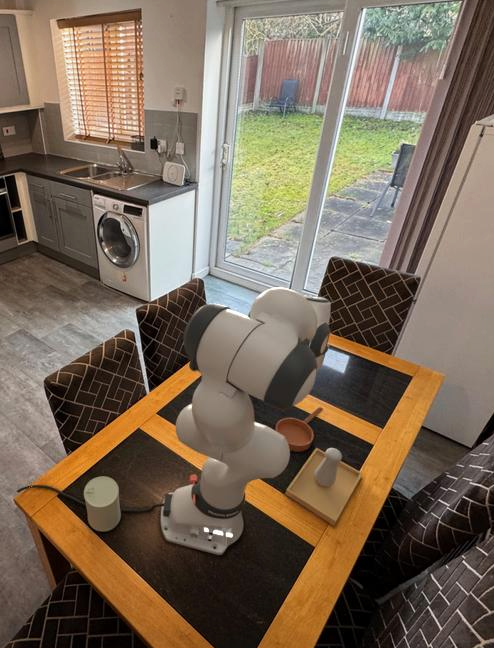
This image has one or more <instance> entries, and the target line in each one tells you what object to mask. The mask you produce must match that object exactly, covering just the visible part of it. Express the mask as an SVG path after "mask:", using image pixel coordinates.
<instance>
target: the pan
mask: <svg viewBox="0 0 494 648" xmlns="http://www.w3.org/2000/svg"><path fill="white" fill-rule="evenodd" d="M303 421H304V420H301V419H299V418H295V417H285V418H282V419H280V420H278V421H277V422H276V424H275V428H274V430H275V431H276V432H278V433H280V434H281V435H283V436H285V438H286V440H287V442H288V445H289V449H290V452H295V453H300V452H301V453H302V452H304V451H305V452H306V451H307V450H309V449H310V448H311V446H312V443H313V442H314V436H315V434H314V431H313V429H312V428H311V426H310V425H309V424H306V423H305V422H303Z"/></svg>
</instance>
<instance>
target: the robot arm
mask: <svg viewBox="0 0 494 648" xmlns="http://www.w3.org/2000/svg"><path fill="white" fill-rule="evenodd" d="M331 303H332V302H331V301H330V300H329V299H327V298H326V297H323V296H318V295H313V294H305V295H302V294H301V293H299V292H297V291H295V290H293V289H291V288H290V289H289V288H286V287H273V288H269V289H266V290H265V291H263V292H262V293H260V294H259V295H257V296H256V298H255V299H254V301H253V303H252V305H251V307H250V310H249V312H248V315H246V314H243V313H241V312H238V311H236V310H232V308H230V307H229V306H227V305H224V304H219V303H214V302H209V303H206V304H204V305H202V306H200V307H199V308H198V309H197V310H195V312H194V313H193V314H192V315H191V317H190V318H189V320H188V322H187V323H186V325H185V328H184V331H183V335H182V336H183V337H182V339H183V345H184V346H183V347H184V353H185V354H186V356H187V358H188V360H189V364H188V367H189V369H190V371H192V372H198V373H199V374H200V375H201V380H200V382H199V384H198V386H196V388H195V390H194V392H193V394H192V400H191V403H190V404H188V405H186V406H185V407H184V408H182V410H181V411H180V412H179V414H178V416H177V418H176V422H175V433H176V437H177V439H178V442H180V443H181V444H183V445H184V446H186V447H188V448H189V449H191V450H192V451H194V452H196V453H198V454H200V455H203V456H205V457H207V458H206V460H205V461H204V463H203V464H202V467H201V474H200V475H201V476H200V479H199V480H198V475H196V474H195V473H193V474H191V475H189V485H184V486H181V487H177V489H175V491H174V492H173V491H172V492H168V493H165V495H164V498H163V500H162V503H155V504H153V505H152V506H151V507H149V508H143V509H142V508H141V509H132V508H120V511H121V513H122V512H125V513H147V512H152V511H154V510H155V508H160V507H161V508H160V529H161V533H162V535H163V537H164V539H165V541H167V542H169V543H172V544H177V545H180V546H184V547H187V548H191V549H194V550H198V551H202V552H206V553H209V554H213V555H217V556H223V554H224V553H225V552H226V550H227V548H228V547H229V546H231V545H233V544H234V543H235V542H236V541H238V539H239V538H240V537H241V535H242V533H243V531H244V518H243V515H242V513H243V512H242V511H243V509H244V506H245V503H246V489H247V486H248V484H249V483H250V482H252V481H255V480H260V479H274V478H276V477H278V476H280V475H281V474H282V473H283V472H284V471H285V470H286V468H287V466H288V464H289V462H290V456H291V451H290V449H289V445H288V442H287V440H286V438H285V436H283V435H281V434H280V433H278V432H276V431H275V429H273V428H271V427H269V426H267V425H266V424H262V423H259V422H257V421H256V420H255V409H254V405H253V402H252V399H251V398H250V396H252V397H254V398H256V399H259V400H261V401H263V404H264V405H267V406H269V407H271V408H274V409H277V410H280V411H287V410H290V409H293V408H294V407H295V406H296V405H297V404H299V403H301V402H302V401H303V400H305V398H307V397H308V396H309V394H311V391H312V390H313V388H314V385H315V382H316V378H317V372H319V371H321V369H322V366H323V364H324V361H325V359H326V353H328V351H329V349H330V344H329V339H330V334H331V327H330V326H329V325H330V319H331V305H332V304H331ZM32 485H33V486H32ZM31 486H32V487H31ZM29 487H30V488H29ZM34 488H37V489H40V488H41V489H48V490H51V491H53V492H55V493H58V494H59V495H61V496H63V497H66V498H67V499H69V500H72V501H74V502H76V503H78V504H79V505H82V506H84V507H86V502H85V501H84V502H83V501H82V500H80V499H78V498H76V497H74V496H72V495H70V494H67V493H65V492H63V491H61V490H59V489H57V488H55V487H53V486H49V485H43V484H31V485H30V484H29V485H26V486H23V487H21V488H19V489H17V491H16V493H21V492H22V491H25V490H28V489H34Z"/></svg>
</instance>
